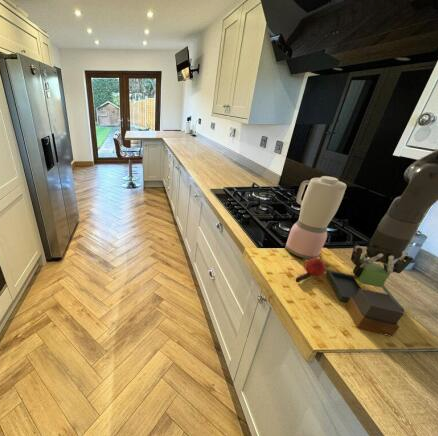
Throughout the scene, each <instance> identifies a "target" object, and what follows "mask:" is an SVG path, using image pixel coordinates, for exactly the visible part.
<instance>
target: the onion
mask: <svg viewBox="0 0 438 436" xmlns="http://www.w3.org/2000/svg"><path fill="white" fill-rule="evenodd" d="M321 259H322V258H321V257H320V256H319V257H317V258H316V259H310V260H309V261H305V262H306V263H304V269H305V272H306V273H310V274H311V277H320V276H322V275H323V274H324V273H325V271H326V268H325V267H326V265H325V263H324V261H323V260H321Z"/></svg>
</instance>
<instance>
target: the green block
mask: <svg viewBox="0 0 438 436" xmlns="http://www.w3.org/2000/svg"><path fill="white" fill-rule="evenodd" d="M352 273H353V272H352ZM352 275H354V273H353V274H352ZM389 276H390V275H389V274H388V273H387V272H386V270H385V269H384V268H383V265H381V264H380V263H377V262H373V263H372V264H368V265H367V266H366V267H364V270H363V272H362V273H361V275H360V277H356V278H355V279H357V281H358V282H359V284H363V285H368V286H372V287H376V288H382V286H383V285H384V284H385V283H386V281H387V280H388V279H389Z"/></svg>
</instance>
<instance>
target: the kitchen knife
mask: <svg viewBox="0 0 438 436" xmlns="http://www.w3.org/2000/svg"><path fill="white" fill-rule="evenodd" d="M326 268H327V266H325V269H326ZM311 277H312V276H311V274H310V273H307V272H306V273H303V274H301V275H300V276H297V277H296V278H295V282H296V283H300V282H302V281H305V280H307V279H309V278H311Z"/></svg>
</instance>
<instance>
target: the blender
mask: <svg viewBox="0 0 438 436" xmlns="http://www.w3.org/2000/svg"><path fill="white" fill-rule="evenodd" d="M306 186H307V187H306ZM347 187H348V186H347V184H346V183H344V182H343V181H340V180H339V179H338V178H337V177H334V176H328V175H322V176H320V177H313V178H311V179H310V180H308V179H307V180H303V181H302V182H301V183H300V186H299V188H298V191H297V194H296V198H295V202H296V203H297V205H300V209H299V210H300V211H299V216H298V220H297V221H296V222H295V223H294V224H293V225H292V227H291V228H290V229H289V230H288V233H289V234H288V237H287V241H286V243H285V247H284V249H285V250H287V251H288V252H289V253H291V254H293V255H295V256H296V257H299V258H302V261H304V260H308V261H309V260H311V259H316V258H317V257H320V256H321V252H322V250H323V248H324V246H325V243H326V241H327V238H328V229H327V228H328V226H329V224H330V223H331V221H332V220H333V218H334V217H335V215H336V214H337V212H338V210H339V207H340V205H341V203H342V200H343V198H344V196H345V193H346V192H345V191H346V190H347ZM305 188H306V190H305ZM303 194H304V195H303ZM302 197H303V198H302Z"/></svg>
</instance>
